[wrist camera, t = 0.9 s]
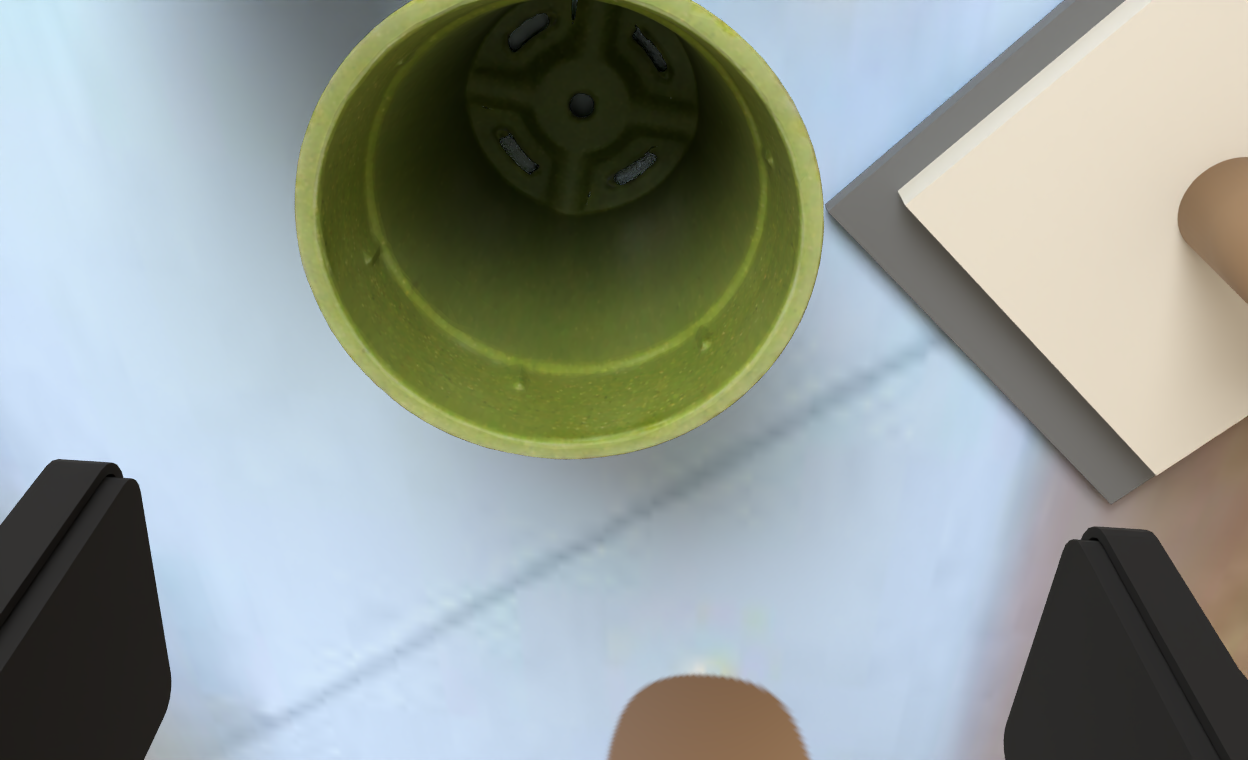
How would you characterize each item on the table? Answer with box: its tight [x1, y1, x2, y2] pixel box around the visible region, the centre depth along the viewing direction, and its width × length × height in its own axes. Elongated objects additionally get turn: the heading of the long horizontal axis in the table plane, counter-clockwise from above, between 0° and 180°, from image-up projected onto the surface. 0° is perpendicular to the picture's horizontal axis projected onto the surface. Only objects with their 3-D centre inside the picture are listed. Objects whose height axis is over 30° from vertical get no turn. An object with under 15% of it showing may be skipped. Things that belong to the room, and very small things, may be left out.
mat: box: [825, 0, 1155, 504], centre depth 37 cm, size 18×16×1 cm
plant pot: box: [295, 0, 824, 459], centre depth 31 cm, size 12×12×11 cm
